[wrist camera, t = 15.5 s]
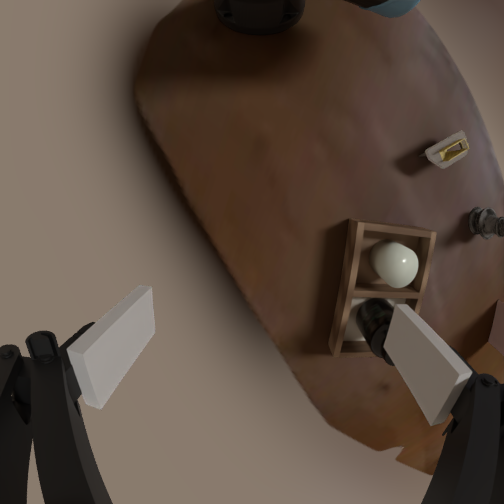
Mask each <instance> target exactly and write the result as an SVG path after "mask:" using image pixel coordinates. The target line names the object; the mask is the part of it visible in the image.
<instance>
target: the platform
mask: <svg viewBox="0 0 504 504" xmlns="http://www.w3.org/2000/svg"><path fill="white" fill-rule="evenodd" d="M457 143H459V145H460V147H461V149H460V150H456V151H448V152H447V149H449V148H450V147H452V146H454V145H456V144H457ZM467 146H468V144H467V139H466V136H465V133H464V131H459V132H457V133H455V134H453V135H451V136H450V137H448V138H446V139H444V140H442V141H441V142H439V143H437V144H435V145H433V146H432V147H430V148H428V149H426V150H425V153H423V154H421V155H419V157H422V156H427V158H428V160H429V161H431V162H432V163H434V164H435V165H437V166H438V167H440V168H441V169H445V168H446V167H448V166H450V165H451V164H453V163H454V162H456V161H458V160H459V159H461V158H462V157H464V156H465V155H467V153H468V149H469V147H467Z"/></svg>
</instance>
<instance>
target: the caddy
mask: <svg viewBox="0 0 504 504" xmlns="http://www.w3.org/2000/svg"><path fill="white" fill-rule="evenodd" d="M384 239H391V240H393V241H395V242H397V243H399V244H401V245H403V246H405V247H407V248H409V249H411V250H412V251H413V252H414V253H415V254H416V256H417V258H418V271H417V274H416V276H415V278H414V279H413V280H412V281H411V283H409V284H408V285H407V286H405V287H402V288H394V287H391V286H390V285H389V284H387V283H386V282H385V281H384V280H383V279H382V278H381V277H380V276H378V275H377V274H376V273H375V272H374V271H373V270H372V269H371V267H370V264H369V255H370V252H371V249H372V248H373V246H374V245H375V244H376V243H377V242H379V241H381V240H384ZM435 239H436V232H434V231H431V230H428V229H425V228H422V227H415V226H408V225H401V224H393V223H386V222H378V221H369V220H361V219H352V218H349V223H348V231H347V239H346V247H345V254H344V261H343V267H342V274H341V280H340V286H339V292H338V297H337V303H336V308H335V313H334V318H333V323H332V328H331V332H330V337H329V341H328V345H329V347H330V350H331V353H332V356H333V358H348V357H377V356H376V355H374V354H373V352H372V351H371V349H370V348H369V346H368V344H367V342H366V341H365V339H364V337H363V335H362V334H361V332H360V330H359V328H358V326H357V324H356V314H357V312H358V310H359V308H360V306H361V305H362V304H363V303H364V302H366V301H367V300H369V299H371V298H384V299H386V300H387V301H388V302H389V303H390V304H391V305H392V306H393V307H394V308H395V305H396V304H407V305H408V306H409V307H410V308H411V309H412V310H413V311H414V312H415V313H416V314H417V315H418V314H419V311H420V307H421V303H422V300H423V296H424V292H425V288H426V284H427V280H428V275H429V271H430V266H431V261H432V256H433V251H434V245H435Z"/></svg>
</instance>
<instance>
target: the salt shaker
mask: <svg viewBox="0 0 504 504" xmlns="http://www.w3.org/2000/svg"><path fill="white" fill-rule="evenodd" d="M469 227H470V230H471V232H472V233H474V234H480V235H481V236H482V237H483V238H484V239H490V238H492V237H493V235H494V234H496V235H498V237H500V238H501V237H503V236H504V217H500V218H498V217H497V216H496V213H495V211H494V210H493V209H492V208H485V209H483V210H482V208H480V207H475V208H474V209H473V210H472V211H471V213H470V216H469Z"/></svg>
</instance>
